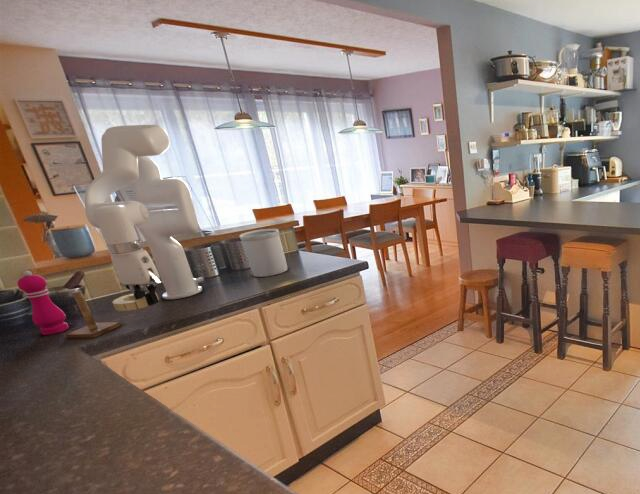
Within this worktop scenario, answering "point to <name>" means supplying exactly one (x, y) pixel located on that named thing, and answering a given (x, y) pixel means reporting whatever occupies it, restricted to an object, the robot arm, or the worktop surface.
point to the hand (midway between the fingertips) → (148, 303)
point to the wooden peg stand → (89, 321)
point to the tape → (130, 303)
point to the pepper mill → (42, 305)
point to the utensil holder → (264, 252)
